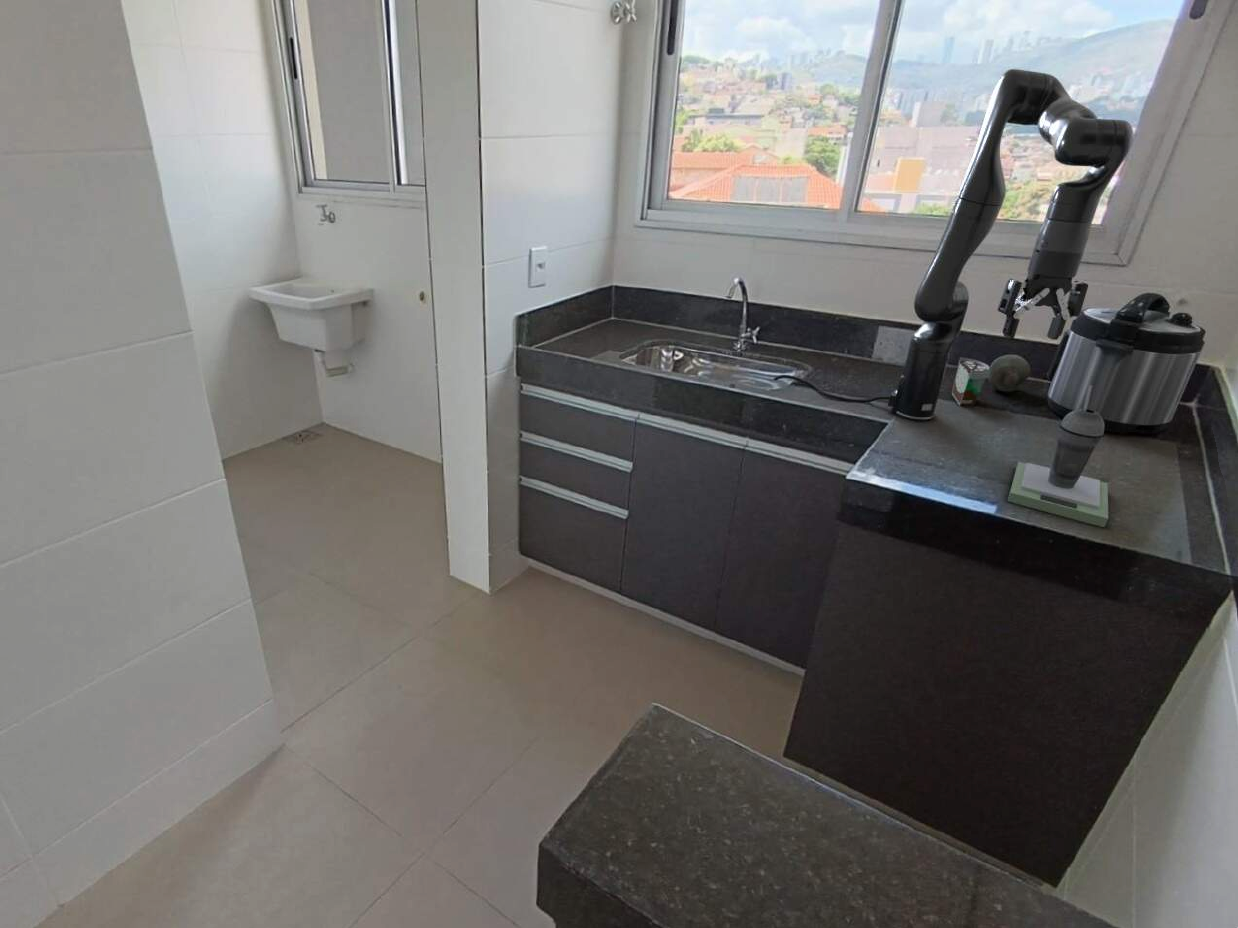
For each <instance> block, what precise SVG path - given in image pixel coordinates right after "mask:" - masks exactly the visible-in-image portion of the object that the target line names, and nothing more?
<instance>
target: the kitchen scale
mask: <svg viewBox="0 0 1238 928" xmlns="http://www.w3.org/2000/svg"><path fill="white" fill-rule="evenodd" d="M1050 469H1051V467H1047V466H1043V465H1040V464H1039V465H1038V464H1035V463H1031V462H1023V461H1018V462H1017V465H1016V467H1015V472H1014V475H1013V479H1012V482H1011V487H1010V490H1009V494H1008V498H1007V502H1009V503H1012V504H1016V505H1020V506H1024V507H1027V508H1030V509H1034V510H1038V511H1042V512H1045V513H1049V514H1053V515H1056V516H1060V517H1063V518H1068V519H1070V520H1074V521H1078V522H1081V523H1085V524H1089V525H1093V526H1096V527H1101V528H1105V527H1106V525H1107V522H1108V520H1109V490H1108V489H1109V488H1108V487H1109V483H1108V482H1104V481H1101V480H1100V479H1096V478H1092V477H1087V476H1085V475H1080V477H1079V479H1078V481H1077V482H1076V484H1075V485H1074V487H1073V488H1071V489H1065V488H1060V487H1057V486H1054V485H1052V484H1051V483H1049V481H1048V479H1049V473H1050Z"/></svg>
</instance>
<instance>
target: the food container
mask: <svg viewBox="0 0 1238 928" xmlns="http://www.w3.org/2000/svg"><path fill="white" fill-rule="evenodd" d="M957 365H958V366H957V370H956V374H955V378H954V382H953V386H952V390H951V395H952V397H953V398H954V400H955V401H956V402H957V404H958V406H960V407H971V406H974V405H976V404H977V401H978V400H979V399H978V398H979V397H980V394H981V391H982V388H983V386H984V383H985V381H986V379H988V377H989V373H990V370H989V367H990V365H988V364H986V363H985V362H982V361H979V360H976V359H972V358H968V357H960V358H959V361H958V363H957Z"/></svg>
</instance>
